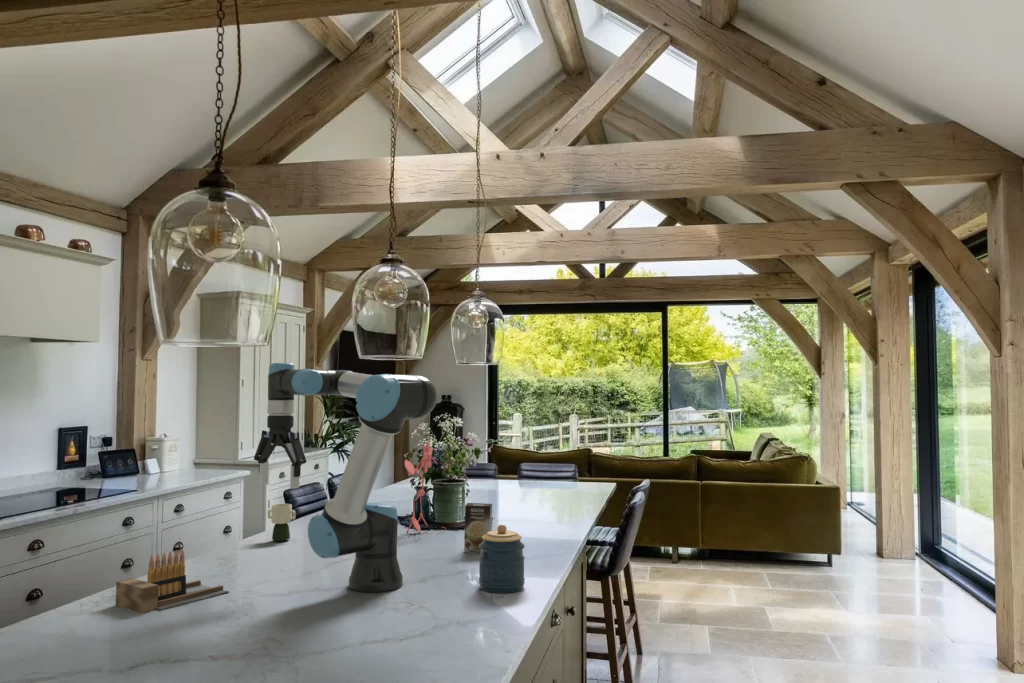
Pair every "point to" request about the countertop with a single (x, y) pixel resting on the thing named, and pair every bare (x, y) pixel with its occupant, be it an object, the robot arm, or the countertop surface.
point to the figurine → (427, 464)
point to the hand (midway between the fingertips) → (278, 486)
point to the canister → (501, 561)
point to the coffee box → (476, 525)
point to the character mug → (281, 520)
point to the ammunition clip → (168, 575)
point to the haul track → (146, 595)
